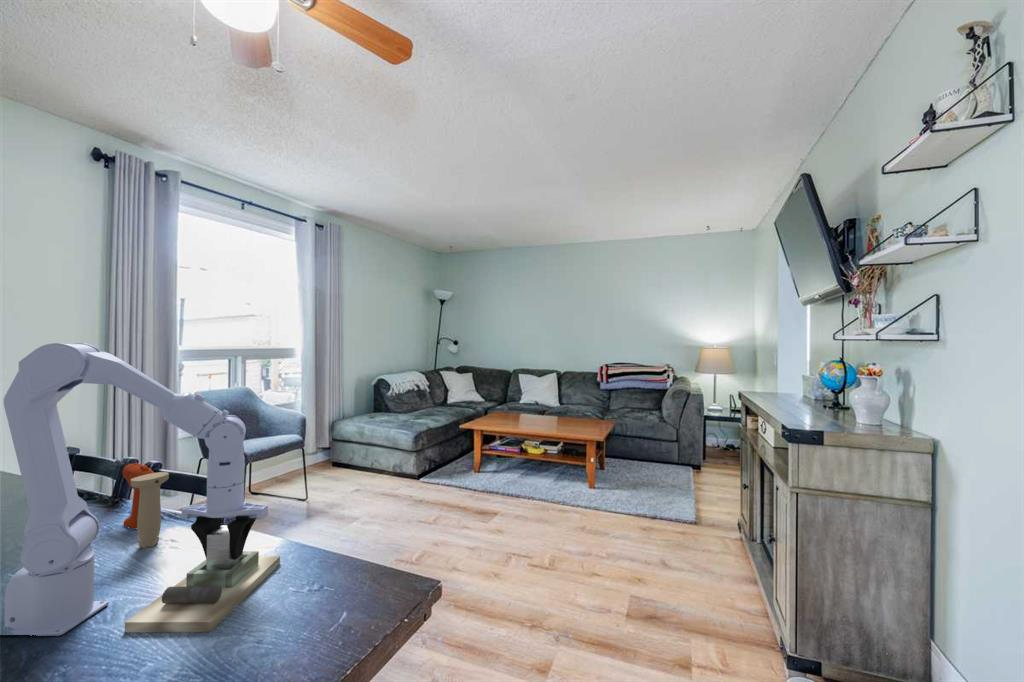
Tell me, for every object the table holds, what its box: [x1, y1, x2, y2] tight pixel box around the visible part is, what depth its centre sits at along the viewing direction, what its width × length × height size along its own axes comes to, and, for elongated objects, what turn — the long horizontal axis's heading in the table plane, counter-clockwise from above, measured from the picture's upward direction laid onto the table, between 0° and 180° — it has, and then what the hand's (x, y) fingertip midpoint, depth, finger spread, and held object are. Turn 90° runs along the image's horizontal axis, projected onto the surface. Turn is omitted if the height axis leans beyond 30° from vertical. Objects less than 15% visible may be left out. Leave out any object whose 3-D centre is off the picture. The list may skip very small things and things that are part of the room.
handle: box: [130, 471, 170, 549], centre depth 92 cm, size 5×6×15 cm
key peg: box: [205, 524, 243, 570], centre depth 77 cm, size 4×4×7 cm
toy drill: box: [114, 459, 155, 529], centre depth 104 cm, size 5×19×15 cm, turn 62°
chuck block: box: [124, 550, 281, 633], centre depth 74 cm, size 13×20×4 cm, turn 1°
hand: (224, 557), depth 77 cm, fingers closed on key peg, 4 cm apart
